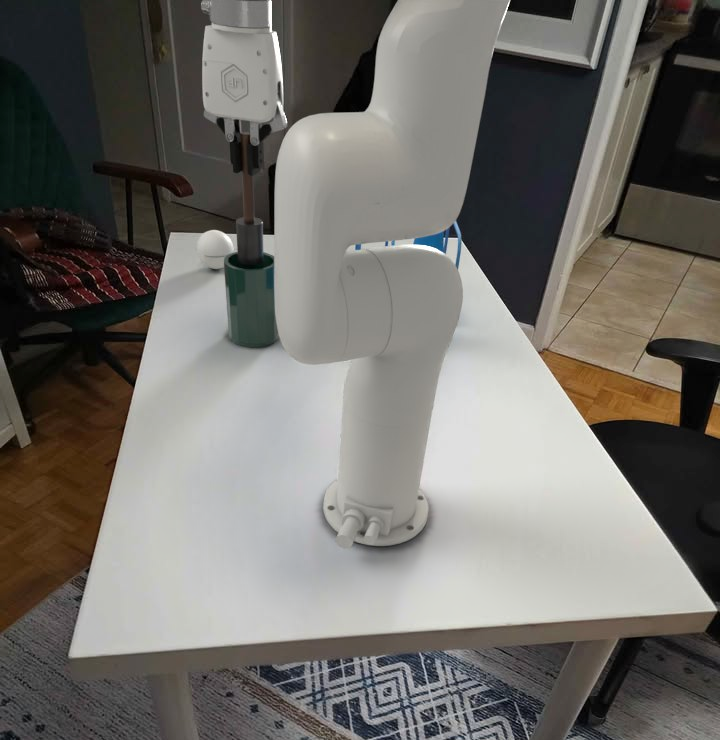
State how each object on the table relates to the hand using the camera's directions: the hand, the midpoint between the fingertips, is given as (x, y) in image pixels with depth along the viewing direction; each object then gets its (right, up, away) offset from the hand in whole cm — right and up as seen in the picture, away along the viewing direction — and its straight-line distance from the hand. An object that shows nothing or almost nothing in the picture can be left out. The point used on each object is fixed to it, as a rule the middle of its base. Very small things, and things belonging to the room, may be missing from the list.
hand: (247, 171), depth 93 cm
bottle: (+26, -20, +20) cm, 38 cm away
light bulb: (-11, -2, +38) cm, 39 cm away
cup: (-2, -20, +17) cm, 26 cm away
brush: (-1, -10, +8) cm, 13 cm away
